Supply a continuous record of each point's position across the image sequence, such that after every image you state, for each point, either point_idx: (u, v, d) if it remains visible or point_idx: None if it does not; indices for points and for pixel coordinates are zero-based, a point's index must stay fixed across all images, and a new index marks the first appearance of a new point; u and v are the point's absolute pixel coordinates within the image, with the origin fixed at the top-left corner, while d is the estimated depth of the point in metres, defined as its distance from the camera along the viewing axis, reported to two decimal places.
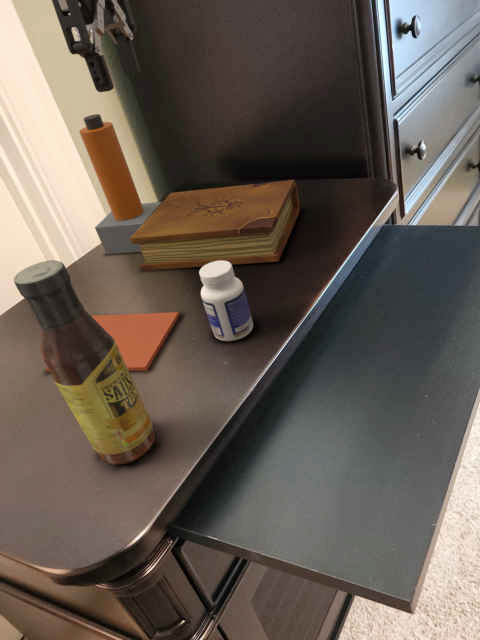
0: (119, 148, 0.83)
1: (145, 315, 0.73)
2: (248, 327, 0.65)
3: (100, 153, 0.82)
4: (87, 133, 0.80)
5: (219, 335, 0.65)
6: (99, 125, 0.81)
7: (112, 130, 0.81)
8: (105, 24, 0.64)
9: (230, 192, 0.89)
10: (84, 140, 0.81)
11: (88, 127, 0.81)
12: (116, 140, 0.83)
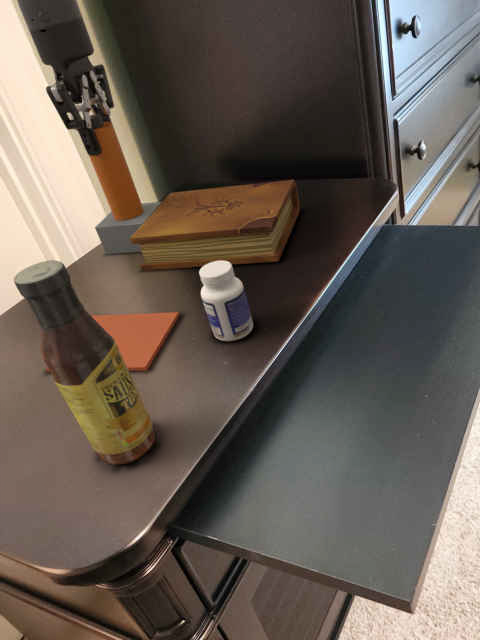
0: (119, 148, 0.83)
1: (145, 315, 0.73)
2: (248, 327, 0.65)
3: None
4: None
5: (219, 335, 0.65)
6: (99, 125, 0.81)
7: (112, 130, 0.81)
8: None
9: (230, 192, 0.89)
10: None
11: None
12: (116, 140, 0.83)
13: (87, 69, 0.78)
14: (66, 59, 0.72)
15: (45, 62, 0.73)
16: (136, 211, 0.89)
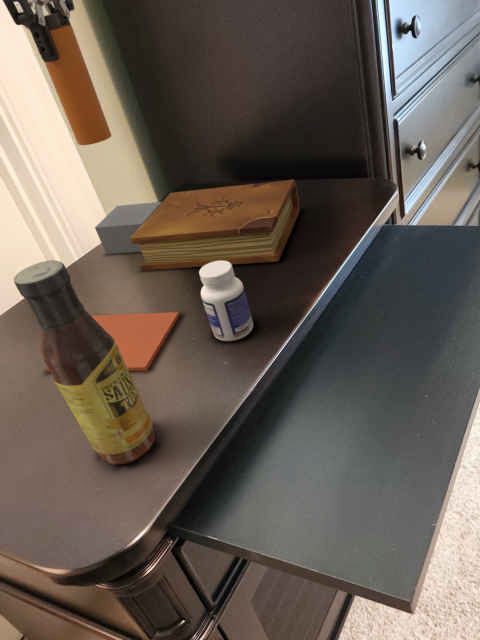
0: (80, 56, 0.72)
1: (145, 315, 0.73)
2: (248, 327, 0.65)
3: None
4: None
5: (219, 335, 0.65)
6: (56, 25, 0.70)
7: (71, 32, 0.71)
8: None
9: (230, 192, 0.89)
10: None
11: None
12: (76, 45, 0.72)
13: None
14: None
15: None
16: (102, 134, 0.78)
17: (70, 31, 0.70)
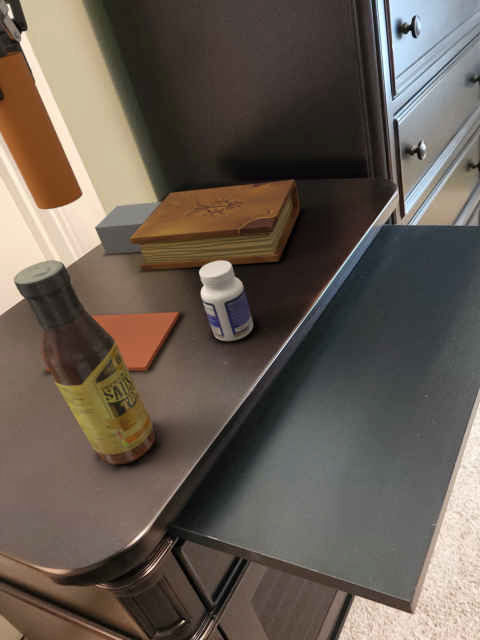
0: (35, 94, 0.53)
1: (145, 315, 0.73)
2: (248, 327, 0.65)
3: None
4: None
5: (219, 335, 0.65)
6: None
7: (21, 63, 0.51)
8: None
9: (230, 192, 0.89)
10: None
11: None
12: (29, 80, 0.52)
13: None
14: None
15: None
16: (69, 195, 0.58)
17: (19, 61, 0.51)
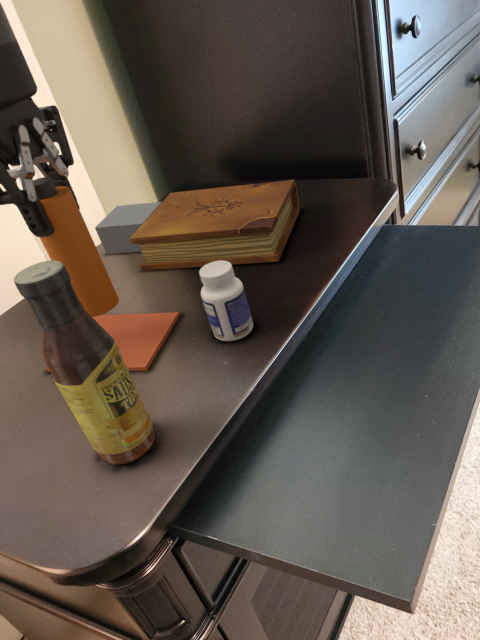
0: (81, 223, 0.58)
1: (145, 315, 0.73)
2: (248, 327, 0.65)
3: None
4: None
5: (219, 335, 0.65)
6: (50, 194, 0.56)
7: (70, 200, 0.57)
8: (31, 159, 0.53)
9: (230, 192, 0.89)
10: None
11: None
12: (76, 213, 0.58)
13: (29, 115, 0.53)
14: None
15: None
16: (108, 304, 0.64)
17: (68, 198, 0.56)
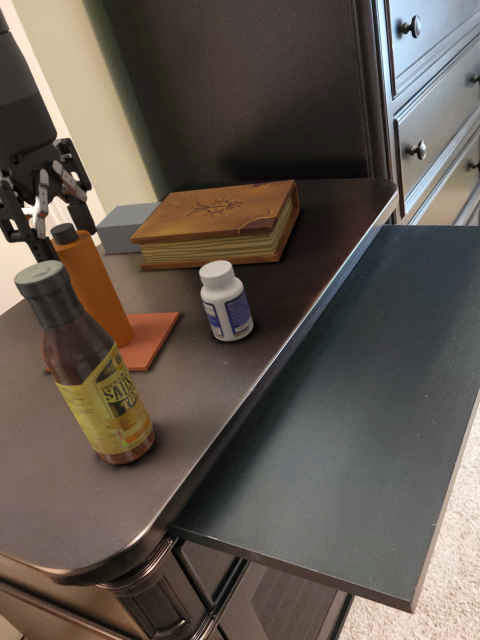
0: (100, 265, 0.62)
1: (145, 315, 0.73)
2: (248, 327, 0.65)
3: (73, 275, 0.60)
4: None
5: (219, 335, 0.65)
6: (72, 239, 0.59)
7: (90, 244, 0.60)
8: (51, 199, 0.56)
9: (230, 192, 0.89)
10: None
11: (57, 242, 0.59)
12: (95, 256, 0.61)
13: (49, 158, 0.56)
14: (15, 153, 0.50)
15: None
16: (124, 339, 0.67)
17: (88, 243, 0.60)
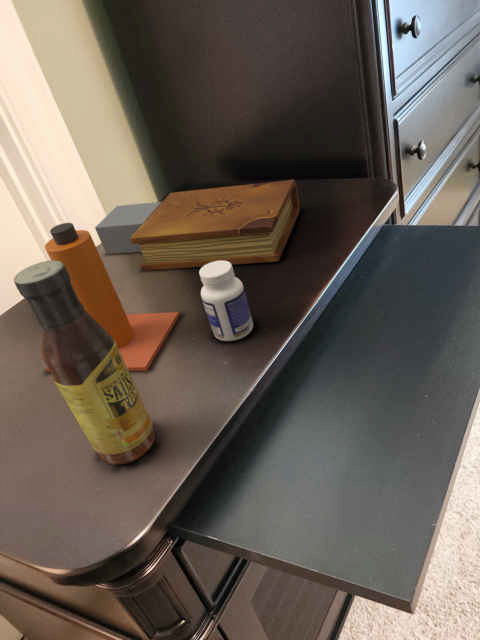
0: (100, 265, 0.62)
1: (145, 315, 0.73)
2: (248, 327, 0.65)
3: (73, 275, 0.60)
4: (55, 251, 0.58)
5: (219, 335, 0.65)
6: (72, 239, 0.59)
7: (90, 244, 0.60)
8: None
9: (230, 192, 0.89)
10: (51, 259, 0.60)
11: (57, 242, 0.59)
12: (95, 256, 0.61)
13: None
14: None
15: None
16: (124, 339, 0.67)
17: (88, 243, 0.60)
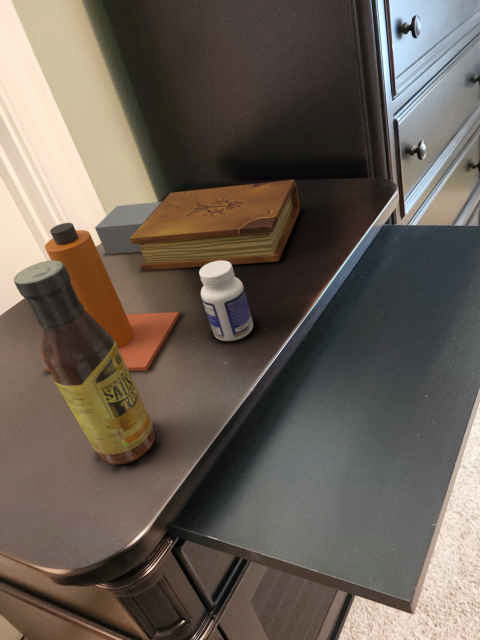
0: (100, 265, 0.62)
1: (145, 315, 0.73)
2: (248, 327, 0.65)
3: (73, 275, 0.60)
4: (55, 251, 0.58)
5: (219, 335, 0.65)
6: (72, 239, 0.59)
7: (90, 244, 0.60)
8: None
9: (230, 192, 0.89)
10: (51, 259, 0.60)
11: (57, 242, 0.59)
12: (95, 256, 0.61)
13: None
14: None
15: None
16: (124, 339, 0.67)
17: (88, 243, 0.60)
